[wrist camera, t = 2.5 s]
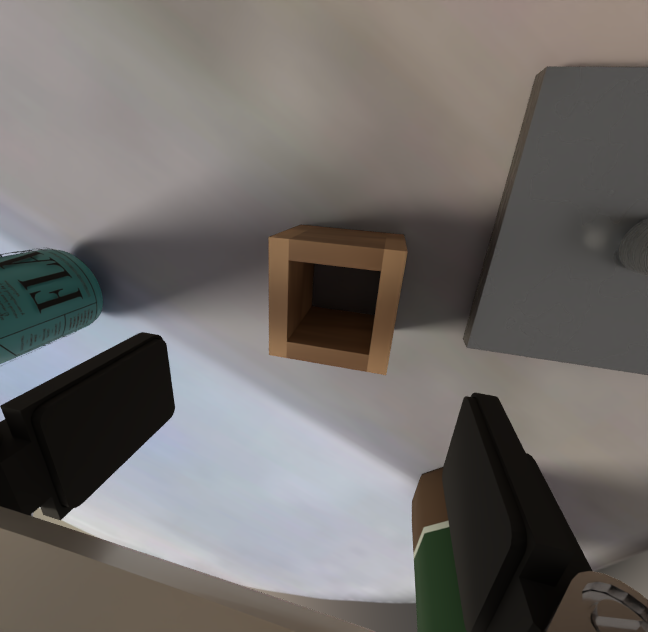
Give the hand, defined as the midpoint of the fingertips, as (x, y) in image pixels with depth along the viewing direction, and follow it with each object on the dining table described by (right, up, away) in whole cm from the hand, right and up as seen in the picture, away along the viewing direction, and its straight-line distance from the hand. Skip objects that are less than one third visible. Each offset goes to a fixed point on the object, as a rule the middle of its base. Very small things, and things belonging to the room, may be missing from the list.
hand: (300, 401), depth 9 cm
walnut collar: (+2, +5, +11) cm, 12 cm away
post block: (+17, +7, +7) cm, 19 cm away
